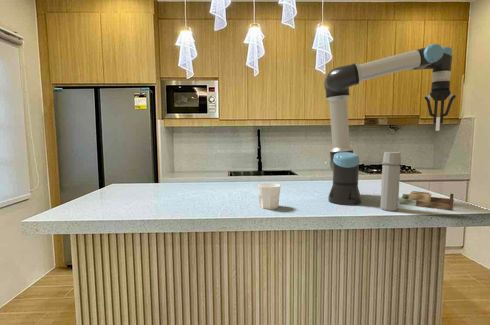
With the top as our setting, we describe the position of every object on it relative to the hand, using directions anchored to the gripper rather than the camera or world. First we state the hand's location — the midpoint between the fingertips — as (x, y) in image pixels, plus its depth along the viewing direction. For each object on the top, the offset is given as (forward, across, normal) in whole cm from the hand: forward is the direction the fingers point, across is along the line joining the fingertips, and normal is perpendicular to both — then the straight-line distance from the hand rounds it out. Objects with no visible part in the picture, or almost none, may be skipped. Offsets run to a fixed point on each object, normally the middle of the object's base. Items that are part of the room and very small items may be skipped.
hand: (437, 130), depth 148 cm
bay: (+34, -2, -13) cm, 37 cm away
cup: (+35, -60, -60) cm, 91 cm away
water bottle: (+35, -15, -33) cm, 50 cm away
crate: (+35, -5, -14) cm, 37 cm away
